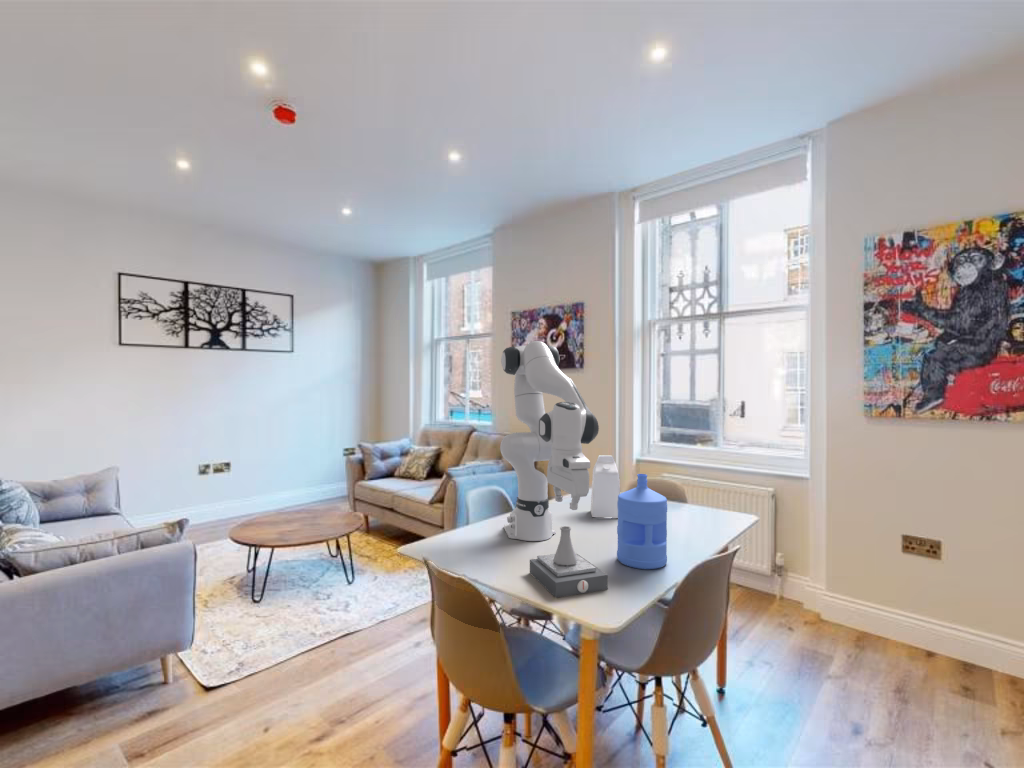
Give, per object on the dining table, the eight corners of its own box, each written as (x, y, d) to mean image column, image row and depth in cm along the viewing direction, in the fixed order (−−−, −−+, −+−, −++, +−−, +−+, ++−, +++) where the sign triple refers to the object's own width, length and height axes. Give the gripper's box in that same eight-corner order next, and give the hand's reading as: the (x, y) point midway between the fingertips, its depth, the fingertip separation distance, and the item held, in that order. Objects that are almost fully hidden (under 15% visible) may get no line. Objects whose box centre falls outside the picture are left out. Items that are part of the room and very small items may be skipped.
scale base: (529, 572, 146) (529, 559, 146) (576, 566, 151) (576, 553, 151) (556, 598, 128) (556, 583, 128) (608, 590, 134) (609, 575, 134)
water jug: (611, 553, 163) (611, 470, 164) (656, 552, 164) (657, 470, 165) (624, 570, 148) (625, 479, 148) (674, 570, 149) (675, 479, 149)
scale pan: (537, 559, 145) (537, 556, 145) (572, 554, 150) (572, 551, 150) (557, 576, 132) (557, 573, 132) (595, 571, 136) (595, 567, 136)
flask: (575, 557, 145) (575, 524, 145) (579, 566, 137) (580, 531, 137) (551, 557, 144) (551, 524, 144) (554, 566, 137) (554, 531, 137)
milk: (617, 511, 218) (617, 454, 218) (620, 518, 206) (621, 457, 206) (590, 510, 219) (591, 453, 219) (592, 517, 207) (592, 457, 207)
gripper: (542, 453, 150) (541, 497, 150) (573, 464, 130) (572, 515, 131) (560, 452, 152) (559, 496, 152) (593, 463, 133) (592, 513, 133)
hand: (565, 505), depth 141 cm, fingers open, 8 cm apart
